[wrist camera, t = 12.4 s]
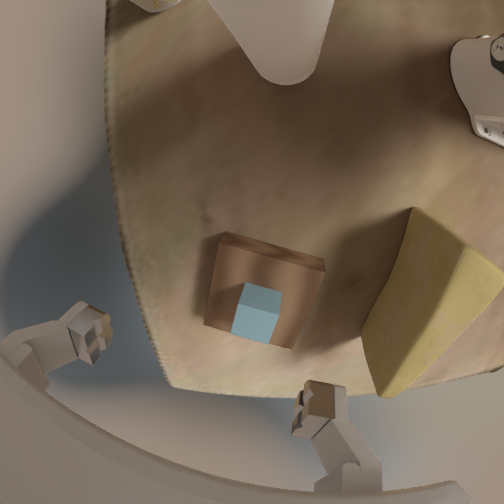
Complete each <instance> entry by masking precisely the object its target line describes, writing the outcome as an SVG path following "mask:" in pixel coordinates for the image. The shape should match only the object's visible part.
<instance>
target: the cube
mask: <svg viewBox="0 0 504 504" xmlns="http://www.w3.org/2000/svg"><path fill="white" fill-rule="evenodd" d="M281 298H282V292H279V291H275V290H272V289H268V288H265V287H261V286H257V285H254V284H250V283H247V282H246V283H245V285H244V288H243V291H242V294H241V297H240V300H239V303H238V306H237V310H236V314H235V318H234V322H233V325H232V329H231V333H230V334H233V335H237V336H240V337H244V338H247V339H251V340H255V341H258V342H262V343H266V344H268V343H269V341H270V338H271V336H272V333H273V331H274V328H275V325H276V323H277V320H278V318H279V315H280V307H281Z"/></svg>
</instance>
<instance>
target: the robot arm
mask: <svg viewBox="0 0 504 504" xmlns="http://www.w3.org/2000/svg"><path fill="white" fill-rule="evenodd" d="M450 66H451V73H452V77H453V81H454V84H455V87H456V89H457V92H458V94H459V96H460V98H461V100H462V102H463V103H464V105H465V107H466V108H467V110H468V112H469V115H470V119H471V123H472V127H473V130H474V132H475V134H476V135H478V136H480V137H482V138H484V139H487V140H489V141H491V142H493V143H496V144H498V145H500V146H502V147H504V34H502V35H498V36H491V37H490V36H488V35H485V36H481V37H480V38H478V39H463V40H460V41H459V42H457V43H456V44H455V46H454V47H453V49H452V52H451V58H450ZM485 129H486V132H485ZM109 322H111V320H110V315H108V314H106V313H105V312H103V311H101V310H99V309H96V308H95V307H93V306H91V305H89V304H87V303H85V302H83V301H79V302H77V303H76V304H75V305H74V306H73V307H72V308H71V309H70V310H68V312H66V313H65V314H64V315H63V316H62V317H61V318H60V319H59V320H58V321H56V320H53V321H49V322H46V323H42V324H39V325H35V326H31V327H27V328H24V329H20V330H16V331H13V332H12V333H11V334H10V335H9V336H8V337H7V338H6V339H5V340H4V341H3V342H2V343H1V344H0V504H472V500H471V498H470V497H469V495H468V494H467V493H466V492H465V490H464V489H463V488H462V487H461V486H460V485H459V484H458V483H457V482H456V481H452V480H450V481H444V482H440V483H435V484H431V485H426V486H420V487H414V488H408V489H400V490H391V491H382V468H381V462H380V460H379V459H378V458H377V456H376V455H375V454H374V452H373V451H372V449H371V448H370V446H369V445H368V444H367V442H366V441H365V440H364V438H363V437H362V435H361V434H360V433H359V431H358V430H357V428H356V427H355V426H354V424H353V423H352V421H348V407H347V391H346V387H345V386H340V385H334V384H330V383H324V382H318V381H313V380H307V381H306V383H305V384H304V390H302V391H300V392H299V394H298V396H297V398H296V401H295V405H294V414H295V416H296V417H295V419H294V420H293V421H292V429H291V436H295V437H301V438H306V439H311V442H312V444H313V446H314V448H315V450H316V452H317V454H318V456H319V458H320V460H321V462H322V464H323V466H324V468H325V470H326V472H327V474H328V475H327V476H325V477H324V478H322V479H320V480H319V481H317V482H315V485H314V492H307V491H296V490H287V489H280V488H272V487H266V486H260V485H255V484H250V483H245V482H240V481H236V480H232V479H227V478H223V477H219V476H216V475H212V474H208V473H205V472H202V471H199V470H196V469H193V468H190V467H187V466H184V465H181V464H178V463H175V462H173V461H170V460H167V459H165V458H162V457H160V456H157V455H154V454H152V453H150V452H148V451H145V450H143V449H141V448H139V447H137V446H134V445H132V444H130V443H128V442H126V441H124V440H122V439H120V438H118V437H116V436H114V435H112V434H111V433H109V432H107V431H105V430H103V429H101V428H100V427H98V426H96V425H94V424H93V423H91V422H89V421H88V420H86V419H85V418H83V417H81V416H80V415H78V414H77V413H75V412H73V411H72V410H70V409H69V408H68V407H66V406H65V405H63V404H62V403H60V402H59V401H57V400H56V399H54V398H53V397H52V396H51V395H49V394H48V393H47V392H45V390H46V389H47V387H48V386H49V381H48V379H47V377H46V375H45V373H47V372H50V371H52V370H54V369H56V368H58V367H60V366H63V365H65V364H67V363H69V362H71V361H74V360H76V359H77V358H80V359H81V360H84V361H85V362H87V363H89V364H91V365H94V364H95V362H96V361H97V360H98V358H99V357H100V356H101V350H104V349H106V348H107V347H108V346H109V344H110V342H111V340H112V336H113V331H112V328H111V327H110V325H109Z"/></svg>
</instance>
